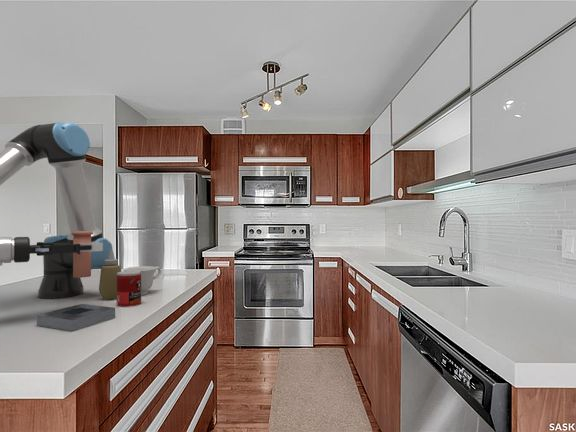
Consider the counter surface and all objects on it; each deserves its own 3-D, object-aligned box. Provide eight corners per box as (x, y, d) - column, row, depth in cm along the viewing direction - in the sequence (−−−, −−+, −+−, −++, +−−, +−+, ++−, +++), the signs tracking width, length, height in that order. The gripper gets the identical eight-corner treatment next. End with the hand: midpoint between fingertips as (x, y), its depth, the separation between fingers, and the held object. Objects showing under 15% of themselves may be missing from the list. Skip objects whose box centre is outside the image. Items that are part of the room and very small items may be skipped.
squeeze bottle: (127, 296, 138) (127, 249, 138) (111, 301, 131) (110, 251, 131) (111, 295, 141) (110, 248, 141) (93, 300, 133) (93, 250, 133)
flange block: (36, 325, 102) (36, 314, 102) (82, 313, 115) (82, 303, 115) (71, 331, 97) (71, 320, 97) (115, 317, 109) (115, 307, 109)
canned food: (132, 307, 123) (132, 274, 123) (111, 306, 124) (111, 273, 124) (146, 301, 130) (145, 270, 130) (125, 300, 132) (125, 270, 132)
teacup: (168, 292, 147) (168, 267, 147) (132, 298, 136) (132, 271, 136) (153, 288, 155) (153, 264, 155) (117, 294, 144) (117, 268, 144)
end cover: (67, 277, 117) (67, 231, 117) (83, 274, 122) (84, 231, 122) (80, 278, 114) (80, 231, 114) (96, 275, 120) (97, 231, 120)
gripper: (11, 260, 114) (94, 255, 129) (14, 265, 100) (106, 259, 115) (12, 236, 114) (94, 234, 129) (14, 238, 100) (106, 235, 115)
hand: (100, 246), depth 122 cm, fingers closed on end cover, 5 cm apart
